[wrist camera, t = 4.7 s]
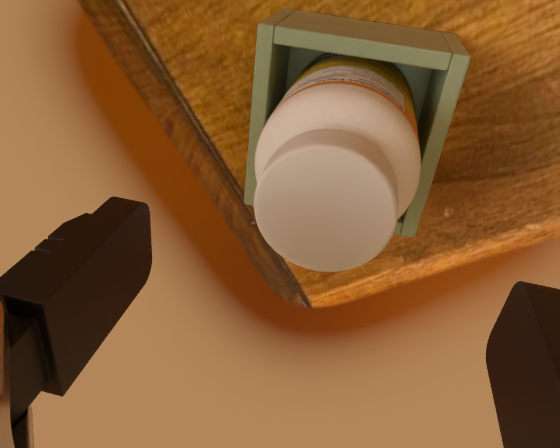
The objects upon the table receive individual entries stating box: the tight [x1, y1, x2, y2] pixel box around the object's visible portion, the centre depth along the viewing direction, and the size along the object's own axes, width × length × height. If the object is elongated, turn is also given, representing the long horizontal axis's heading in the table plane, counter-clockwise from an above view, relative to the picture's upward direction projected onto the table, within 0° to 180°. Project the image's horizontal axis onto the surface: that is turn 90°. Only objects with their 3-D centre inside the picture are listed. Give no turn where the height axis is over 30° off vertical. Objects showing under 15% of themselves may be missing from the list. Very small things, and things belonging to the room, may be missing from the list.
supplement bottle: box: [254, 52, 421, 272], centre depth 17 cm, size 5×5×10 cm
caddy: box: [244, 8, 471, 238], centre depth 19 cm, size 7×7×4 cm
